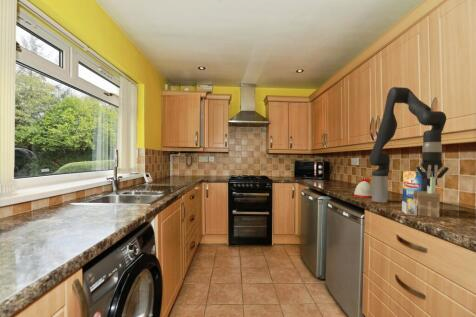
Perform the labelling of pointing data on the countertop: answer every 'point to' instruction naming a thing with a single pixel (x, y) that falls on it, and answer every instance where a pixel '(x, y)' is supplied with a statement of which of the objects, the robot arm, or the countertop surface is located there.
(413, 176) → the beverage box
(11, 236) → the countertop surface
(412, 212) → the small printed carton
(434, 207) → the oak rack
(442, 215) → the countertop surface
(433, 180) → the sage board
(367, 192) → the kitchen timer
